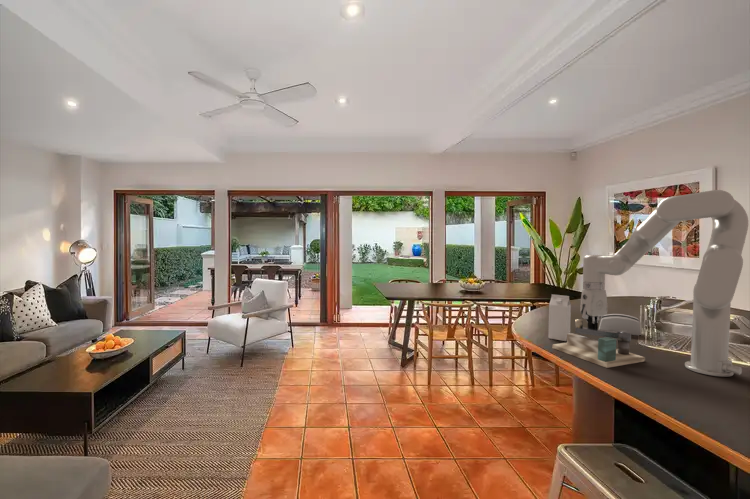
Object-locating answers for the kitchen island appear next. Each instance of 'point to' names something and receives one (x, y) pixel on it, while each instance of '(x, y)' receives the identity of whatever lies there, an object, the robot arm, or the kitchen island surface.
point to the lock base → (595, 356)
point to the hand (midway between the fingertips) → (592, 332)
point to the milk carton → (559, 317)
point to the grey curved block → (620, 323)
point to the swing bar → (602, 332)
